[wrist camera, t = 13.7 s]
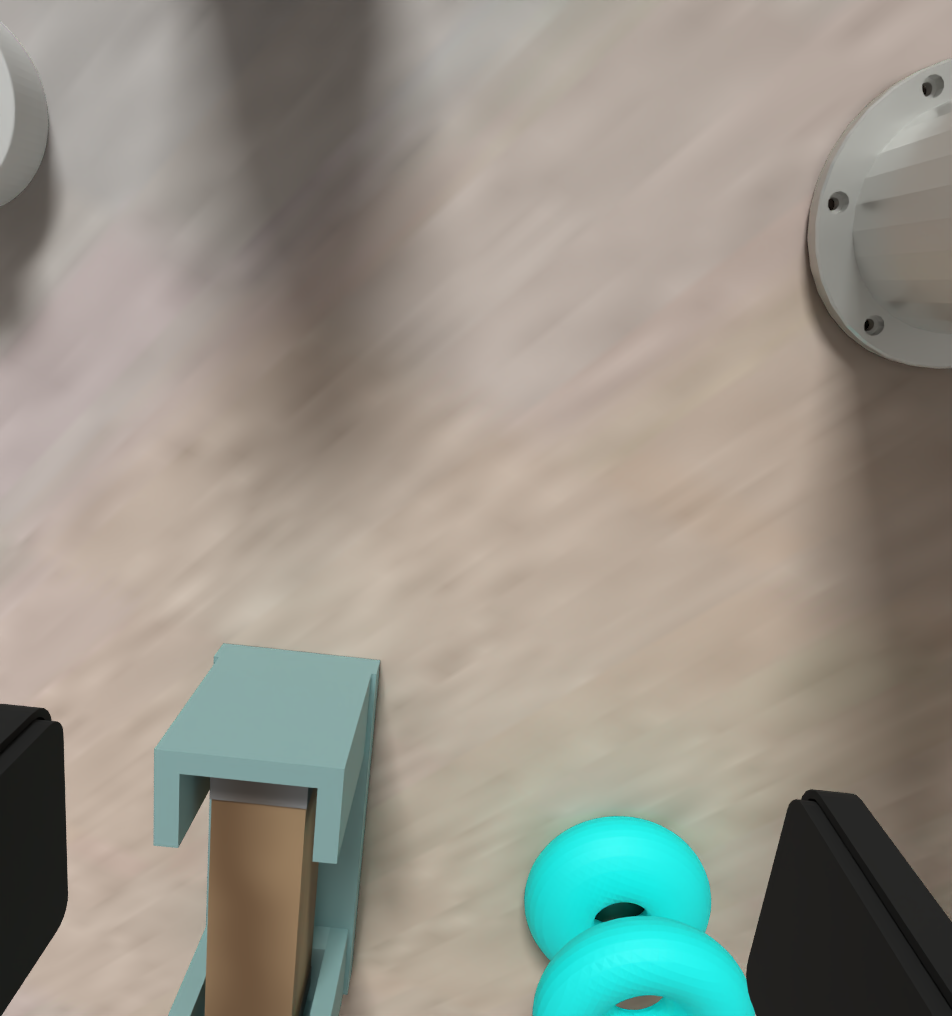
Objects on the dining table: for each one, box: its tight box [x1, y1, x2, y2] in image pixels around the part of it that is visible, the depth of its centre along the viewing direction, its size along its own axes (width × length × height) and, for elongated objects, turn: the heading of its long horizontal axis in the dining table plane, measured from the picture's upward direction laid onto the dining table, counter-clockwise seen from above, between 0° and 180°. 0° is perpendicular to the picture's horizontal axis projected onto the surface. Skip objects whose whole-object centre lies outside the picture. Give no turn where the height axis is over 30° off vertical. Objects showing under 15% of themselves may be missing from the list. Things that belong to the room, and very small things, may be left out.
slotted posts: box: [154, 643, 380, 1016], centre depth 39 cm, size 8×20×10 cm, turn 173°
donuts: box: [524, 816, 755, 1016], centre depth 39 cm, size 10×10×10 cm
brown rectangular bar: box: [205, 777, 319, 1016], centre depth 38 cm, size 4×16×5 cm, turn 173°
